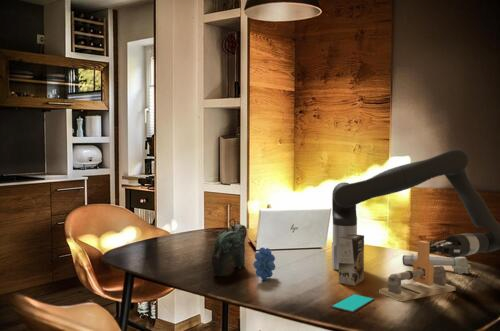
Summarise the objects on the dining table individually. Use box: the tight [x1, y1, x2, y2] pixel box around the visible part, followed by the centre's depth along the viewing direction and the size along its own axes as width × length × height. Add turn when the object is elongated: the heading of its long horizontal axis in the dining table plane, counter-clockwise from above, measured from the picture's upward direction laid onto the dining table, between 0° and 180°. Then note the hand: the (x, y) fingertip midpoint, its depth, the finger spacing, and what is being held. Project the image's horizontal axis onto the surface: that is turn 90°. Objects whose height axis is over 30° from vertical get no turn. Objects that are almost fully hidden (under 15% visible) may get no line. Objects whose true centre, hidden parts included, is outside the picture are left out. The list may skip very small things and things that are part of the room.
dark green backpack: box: [211, 218, 248, 277], centre depth 191 cm, size 20×6×20 cm, turn 150°
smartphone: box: [330, 293, 375, 314], centre depth 154 cm, size 7×1×15 cm
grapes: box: [252, 247, 276, 281], centre depth 179 cm, size 12×7×12 cm, turn 141°
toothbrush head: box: [401, 254, 472, 275], centre depth 194 cm, size 5×7×25 cm
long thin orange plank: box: [412, 240, 435, 286], centre depth 166 cm, size 2×7×14 cm, turn 27°
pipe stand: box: [378, 265, 457, 302], centre depth 165 cm, size 24×10×7 cm, turn 117°
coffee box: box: [338, 234, 365, 286], centre depth 177 cm, size 9×6×16 cm
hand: (425, 250), depth 166 cm, fingers closed
